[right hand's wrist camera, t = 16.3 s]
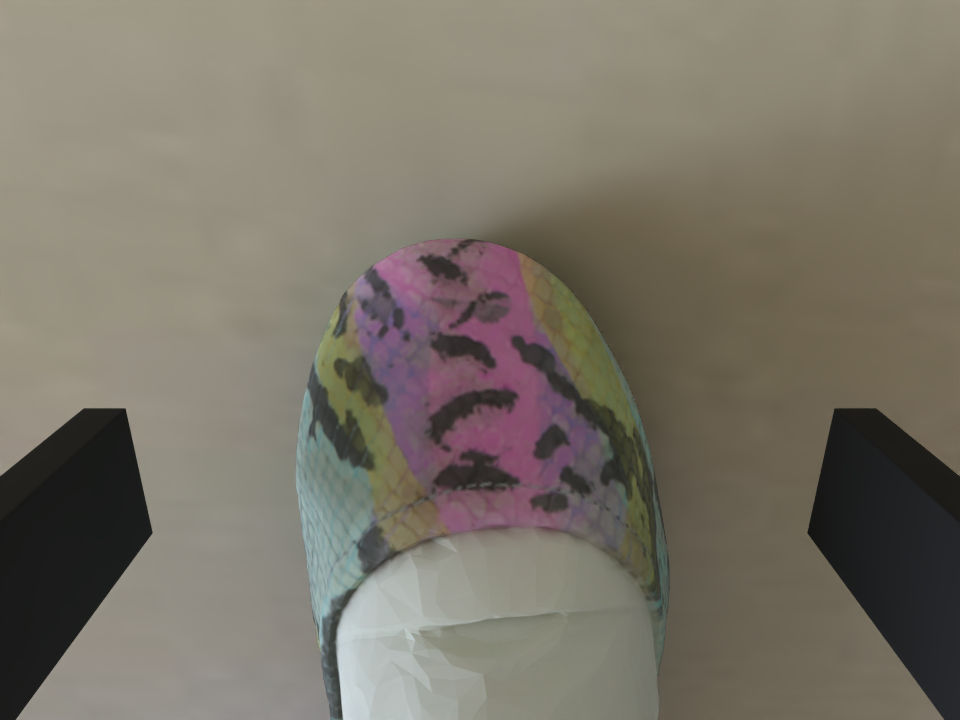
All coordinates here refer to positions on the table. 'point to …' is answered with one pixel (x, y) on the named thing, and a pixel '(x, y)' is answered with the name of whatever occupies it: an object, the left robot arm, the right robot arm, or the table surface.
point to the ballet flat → (478, 500)
